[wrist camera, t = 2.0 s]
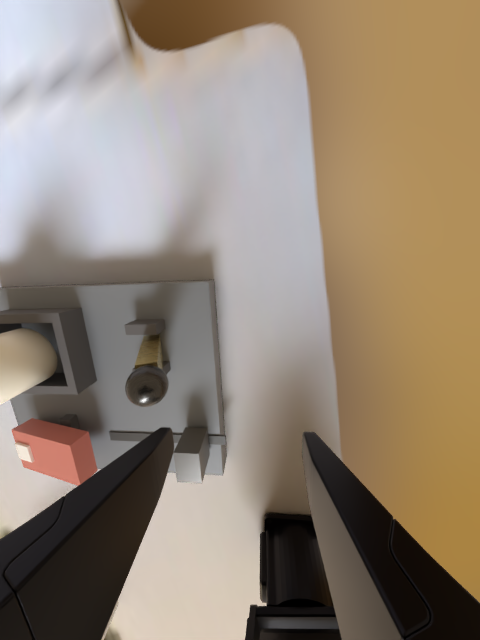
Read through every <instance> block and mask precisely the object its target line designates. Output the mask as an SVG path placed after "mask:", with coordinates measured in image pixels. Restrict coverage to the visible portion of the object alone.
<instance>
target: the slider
mask: <svg viewBox="0 0 480 640" xmlns="http://www.w3.org/2000/svg"><path fill="white" fill-rule="evenodd" d="M173 454H174V461H175V469H176V476H177V482H185V483H202V481H203V478H204V474H205V470H206V467H207V463H208V460H209V456H210V451H209V440H208V429H207V428H188V427H185V429H184V431H183V433H182V435H181V438H180V440H179V442H178V444H177V446H176V448H175V450H174V453H173Z"/></svg>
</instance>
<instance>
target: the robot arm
mask: <svg viewBox="0 0 480 640" xmlns="http://www.w3.org/2000/svg"><path fill="white" fill-rule="evenodd" d="M173 453H174V439H173V432H172V429H171V428H170V427H161V428H159V429H157V430H156V431H155V432H153V433H152V434H150V435H149V436H148V437H146V438H145V439H143V440H142V441H141V442H139V443H138V444H136V445H135V446H134V447H132V448H131V449H129V450H128V451H127V452H125V453H124V454H122V455H121V456H120V457H118V458H117V459H115V460H114V461H112V462H111V463H110V464H108V465H107V466H105V467H104V468H103V469H101V470H100V471H98V472H97V473H96V474H94V475H93V476H91V477H90V478H89V479H87V480H86V481H84V482H83V483H82V484H80V485H79V486H77V487H76V488H75V489H73V490H72V491H70V492H69V493H68V494H66V496H65V497H62V498H60V499H59V500H58V501H56V502H55V503H53V504H52V505H51V506H49V507H48V508H46V509H45V510H43V511H42V512H41V513H39V514H38V515H36V516H35V517H33V518H32V519H30V520H29V521H27V522H26V523H24V524H23V525H21V526H20V527H18V528H17V529H15V530H14V531H12V532H11V533H9V534H8V535H6V536H5V537H3V538H2V539H0V640H101V639H102V637H103V634H104V632H105V630H106V627H107V625H108V622H109V620H110V617H111V615H112V613H113V610H114V608H115V605H116V603H117V600H118V598H119V595H120V593H121V591H122V588H123V586H124V583H125V581H126V578H127V576H128V574H129V571H130V569H131V566H132V564H133V561H134V559H135V556H136V554H137V552H138V549H139V547H140V544H141V542H142V539H143V537H144V535H145V532H146V530H147V527H148V525H149V522H150V520H151V518H152V515H153V513H154V510H155V508H156V505H157V503H158V500H159V498H160V495H161V492H162V489H163V486H164V482H165V479H166V476H167V472H168V469H169V466H170V463H171V459H172V456H173ZM302 458H303V465H304V472H305V480H306V487H307V494H308V501H309V506H310V511H311V515H312V517H311V516H296V515H282V514H266V515H265V517H264V521H265V532H262V533H261V534H260V599H261V601H262V602H263V603H267V606H257V605H250V614H249V618H248V619H247V629H246V637H245V640H480V603H479V602H478V601H477V600H476V599H475V598H474V597H473V596H472V595H471V594H470V593H469V592H468V591H467V590H466V589H464V588H463V587H462V586H461V585H460V584H459V583H458V582H457V581H456V580H455V579H454V578H453V577H452V576H451V575H450V574H449V573H448V572H447V571H446V570H445V569H444V568H443V567H442V566H440V565H439V564H438V563H437V562H436V561H435V560H434V559H433V558H432V557H431V556H430V555H429V554H428V553H427V552H426V551H425V550H424V549H423V548H422V547H421V546H420V545H419V543H418V542H417V541H416V540H415V539H414V538H413V537H412V536H411V535H410V534H409V533H408V532H407V531H406V530H405V529H404V528H403V527H402V526H401V524H400V523H399V522H398V521H397V520H396V519H394V520H393V516H392V515H391V514H390V513H389V512H388V511H387V510H386V508H385V507H384V506H383V505H382V504H381V503H380V502H379V501H378V500H377V499H376V498H375V497H374V496H373V494H372V493H371V492H370V491H369V490H368V489H367V488H366V487H365V486H364V485H363V484H362V483H361V482H360V481H359V479H358V478H357V477H356V476H355V475H354V474H353V473H352V472H351V471H350V470H349V469H348V468H347V467H346V466H345V464H344V463H343V462H342V461H341V460H340V459H339V458H338V457H337V456H336V455H335V454H334V453H333V451H332V450H331V449H330V448H329V447H328V446H327V445H326V444H325V443H324V442H323V441H322V440H321V439H320V437H319V436H318V435H317V434H316V433H314V432H303V435H302Z"/></svg>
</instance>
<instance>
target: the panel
mask: <svg viewBox="0 0 480 640" xmlns="http://www.w3.org/2000/svg"><path fill="white" fill-rule="evenodd" d="M19 328H27V329H32V330H35V331H37V332H39V333H40V334H42V335H43V336H44V337H45V338H47V339H48V341H49V342H50V343H51V344H52V346H53V348H54V350H55V352H56V355H57V368H56V371H55V372H54V374H53V375H52V376H51V377H50V378H48V379H46V380H44V381H43V382H41V383H39V384H37V385H35V386H33V387H32V388H30V389H28V390H26V391H24V392H22V393H21V394H19V395H17V396H15V397H13V398H11V399H10V401H11V404H12V407H13V410H14V413H15V416H16V419H17V422H18V426H19V425H21V424H23V423H24V422H26V421H28V420H30V419H32V418H34V419H38V420H42V421H46V422H50V423H55V424H59V425H63V426H67V427H71V428H75V429H80V430H84V431H88V432H89V436H90V440H91V444H92V448H93V453H94V457H95V461H96V465H97V469H103V468H104V467H105V466H107V465H108V464H110V463H111V462H112V461H114V460H115V459H117V458H118V457H120V456H121V455H122V454H124V453H125V452H127V451H128V450H129V449H131V448H132V447H134V446H135V445H136V444H138V443H139V442H141V441H142V440H143V439H145V438H146V437H148V436H149V435H150V434H152V433H153V432H155V431H156V430H157V429H159V428H161V427H170V428H171V429H172V432H173V439H174V450H175V448H176V446H177V444H178V442H179V440H180V438H181V435H182V433H183V431H184V429H185V427H188V428H207V429H208V440H209V451H210V456H209V460H208V463H207V467H206V470H205V474H204V475H223V473H224V468H225V463H226V446H225V445H226V435H225V431H224V417H223V402H222V388H221V373H220V359H219V344H218V330H217V315H216V301H215V286H214V280H193V281H166V282H138V283H111V284H83V285H56V286H28V287H1V288H0V334H1V333H5V332H8V331H12V330H15V329H19ZM157 334H160V340H161V348H162V355H163V365H162V370H163V371H164V372H165V373H166V375H167V377H168V381H169V386H168V391H167V393H166V395H165V397H164V398H163V399H162V400H161V401H160V402H159V403H157V404H155V405H153V406H150V407H140V406H137V405H135V404H133V403H132V402H131V401H130V400H129V399H128V397H127V395H126V392H125V385H126V381H127V379H128V377H129V375H130V374H131V373H132V372H133V371H134V370H135V362H136V359H137V356H138V353H139V350H140V346H141V343H142V340H143V337H144V336H147V335H157ZM167 473H176V469H175V461H174V454H173V456H172V459H171V463H170V466H169V469H168V472H167Z"/></svg>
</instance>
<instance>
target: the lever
mask: <svg viewBox="0 0 480 640" xmlns="http://www.w3.org/2000/svg"><path fill="white" fill-rule="evenodd" d="M162 365H163V355H162V348H161V340H160V334H157V335H147V336H144V337H143V340H142V343H141V346H140V350H139V353H138V356H137V359H136V362H135V370H134V371H133V372H132V373H131V374H130V375H129V377H128V379H127V381H126V385H125V392H126V395H127V397H128V399H129V400H130V401H131V402H132V403H133V404H135V405H137V406H140V407H150V406H153V405H155V404H157V403H159V402H160V401H161V400H162V399H163V398H164V397H165V395H166V393H167V391H168V386H169V381H168V377H167V375H166V373H165V372H164V371H163V370H162Z"/></svg>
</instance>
